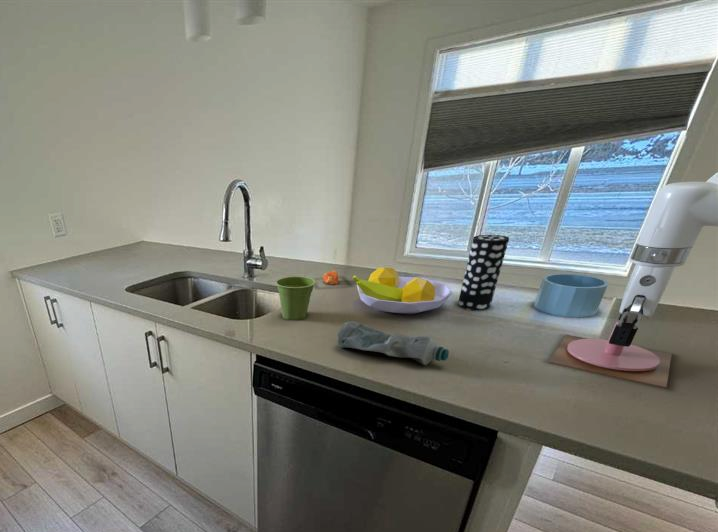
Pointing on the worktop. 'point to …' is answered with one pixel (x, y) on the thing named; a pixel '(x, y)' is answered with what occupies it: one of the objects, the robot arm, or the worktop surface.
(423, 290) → the fruit bowl
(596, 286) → the bowl
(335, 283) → the raw meat
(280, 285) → the plant pot
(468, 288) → the spotted tube
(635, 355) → the pink lid with handle
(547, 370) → the worktop surface
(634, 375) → the wooden cutting board
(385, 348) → the crushed plastic bottle
